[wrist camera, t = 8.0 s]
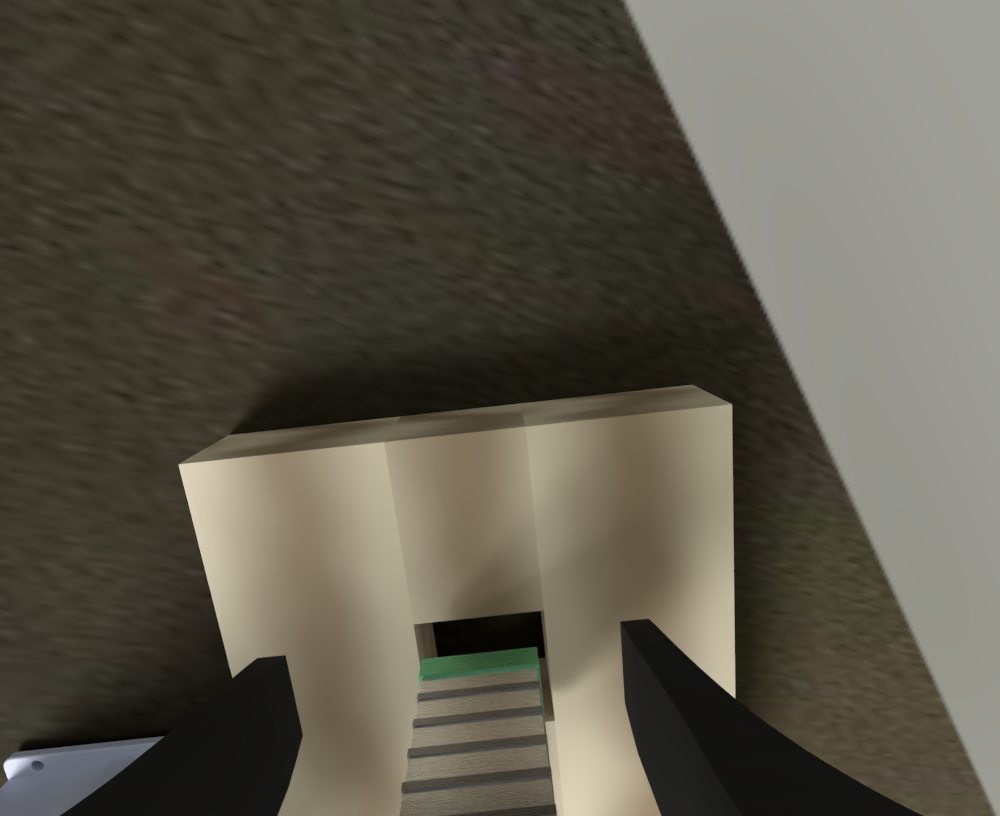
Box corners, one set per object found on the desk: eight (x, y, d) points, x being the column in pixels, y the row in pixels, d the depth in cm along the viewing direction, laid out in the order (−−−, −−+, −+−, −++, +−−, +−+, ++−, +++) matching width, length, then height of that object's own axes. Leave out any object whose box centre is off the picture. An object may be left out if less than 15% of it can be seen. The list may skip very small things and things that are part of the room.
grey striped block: (437, 752, 19) (403, 1064, 11) (422, 657, 18) (374, 924, 10) (546, 740, 19) (585, 1045, 11) (536, 644, 18) (570, 904, 10)
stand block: (313, 809, 25) (278, 915, 21) (228, 434, 21) (164, 472, 17) (703, 768, 25) (746, 866, 21) (692, 384, 21) (743, 409, 17)
